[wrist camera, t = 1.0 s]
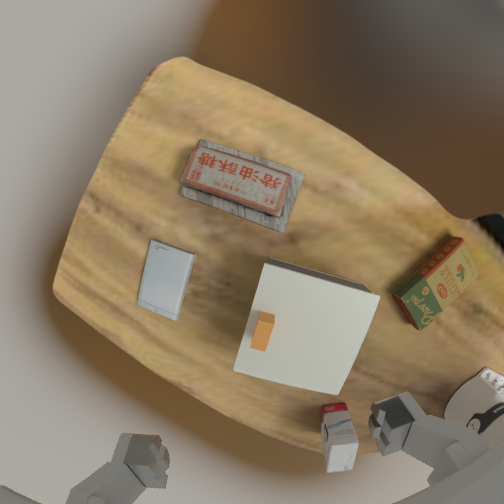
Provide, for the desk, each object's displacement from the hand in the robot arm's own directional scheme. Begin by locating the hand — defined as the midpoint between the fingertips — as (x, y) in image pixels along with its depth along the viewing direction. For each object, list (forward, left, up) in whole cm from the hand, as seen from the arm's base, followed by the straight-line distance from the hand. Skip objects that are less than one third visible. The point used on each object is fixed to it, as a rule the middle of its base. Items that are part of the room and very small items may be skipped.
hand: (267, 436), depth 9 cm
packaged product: (+9, -11, -38) cm, 41 cm away
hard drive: (+18, +8, -38) cm, 43 cm away
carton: (-28, -5, -38) cm, 47 cm away
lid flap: (-6, +7, -29) cm, 31 cm away
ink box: (-20, +27, -38) cm, 50 cm away
